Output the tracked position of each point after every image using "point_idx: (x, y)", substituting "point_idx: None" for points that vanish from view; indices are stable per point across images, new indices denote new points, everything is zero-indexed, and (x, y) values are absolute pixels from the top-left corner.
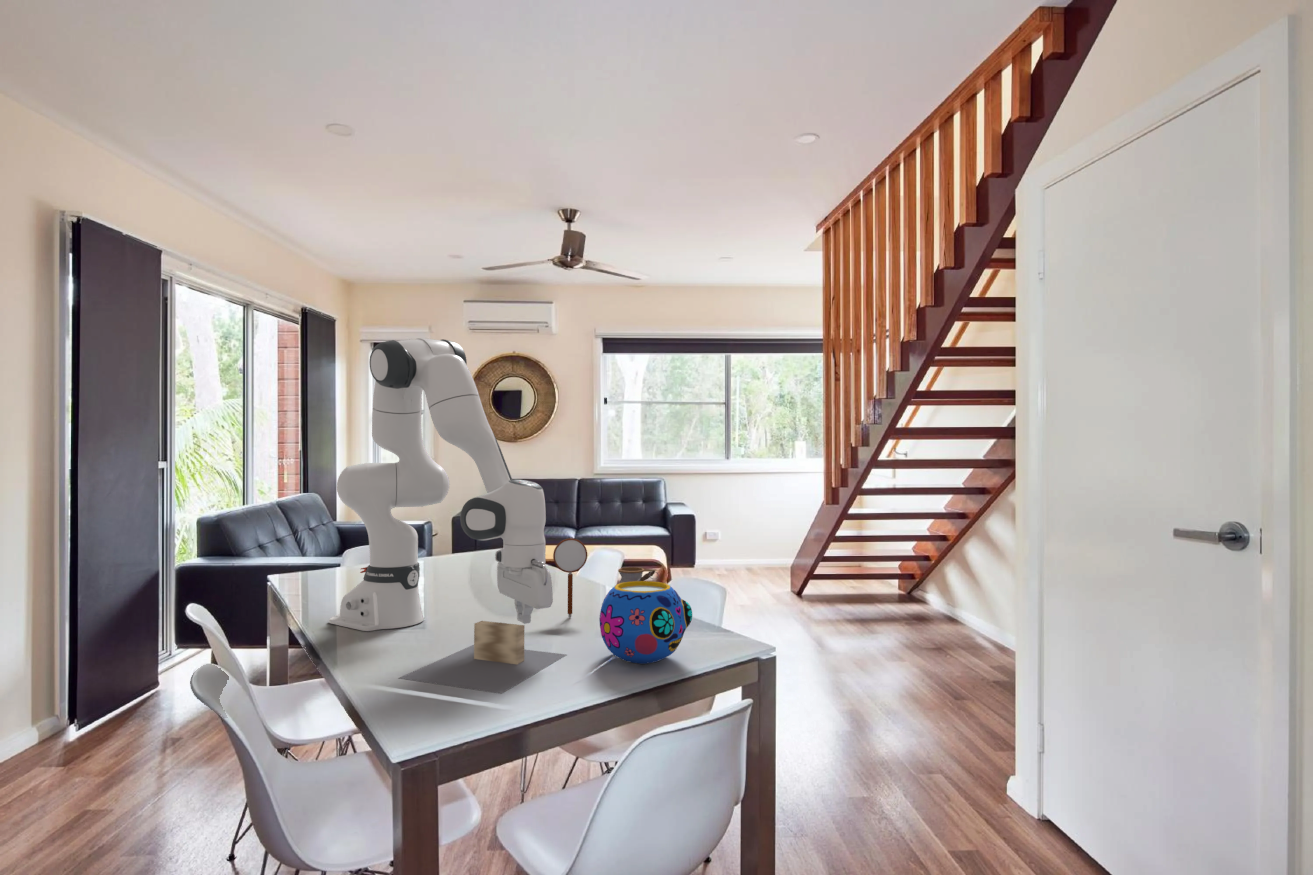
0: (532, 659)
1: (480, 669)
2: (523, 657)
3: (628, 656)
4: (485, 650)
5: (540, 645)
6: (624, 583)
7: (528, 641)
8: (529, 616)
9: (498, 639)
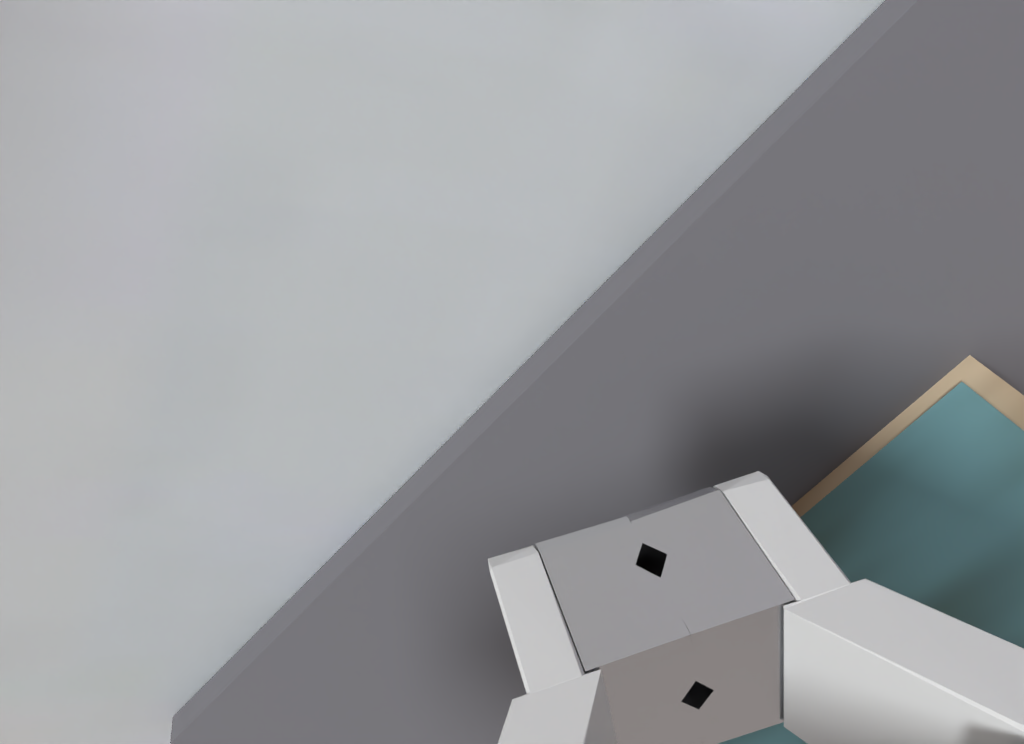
0: (987, 274)
1: None
2: (999, 381)
3: None
4: None
5: (339, 34)
6: None
7: (41, 179)
8: (823, 568)
9: None
